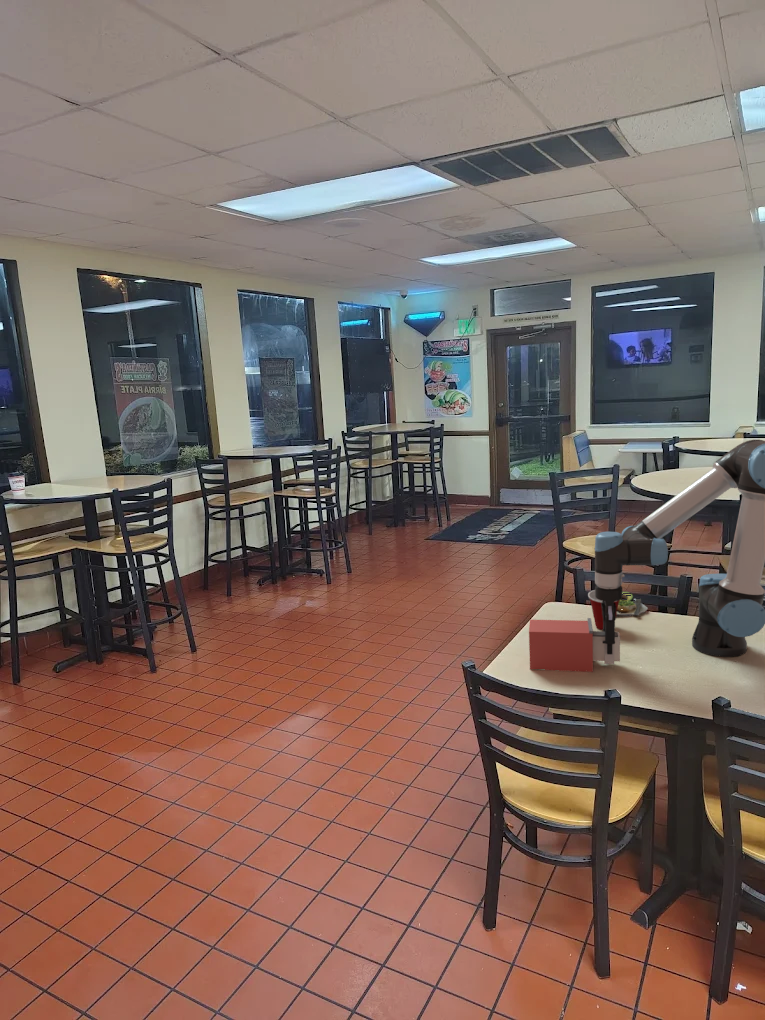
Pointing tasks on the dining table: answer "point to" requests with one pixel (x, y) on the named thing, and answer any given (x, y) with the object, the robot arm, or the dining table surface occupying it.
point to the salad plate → (630, 606)
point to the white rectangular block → (599, 646)
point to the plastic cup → (598, 609)
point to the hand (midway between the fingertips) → (608, 660)
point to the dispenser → (561, 645)
